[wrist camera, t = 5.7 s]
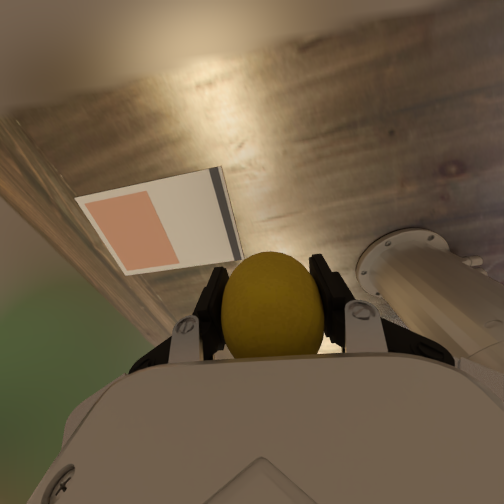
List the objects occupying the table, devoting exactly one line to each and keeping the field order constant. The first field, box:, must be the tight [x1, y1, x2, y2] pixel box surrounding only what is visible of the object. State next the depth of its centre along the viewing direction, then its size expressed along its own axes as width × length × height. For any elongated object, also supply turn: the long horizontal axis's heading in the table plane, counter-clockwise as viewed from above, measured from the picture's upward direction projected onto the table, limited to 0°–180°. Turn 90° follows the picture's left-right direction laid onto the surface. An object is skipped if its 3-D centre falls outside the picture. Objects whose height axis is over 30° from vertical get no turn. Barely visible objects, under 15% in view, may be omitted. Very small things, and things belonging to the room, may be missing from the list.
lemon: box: [221, 252, 324, 359], centre depth 10 cm, size 6×6×8 cm
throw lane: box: [75, 166, 244, 276], centre depth 28 cm, size 22×14×1 cm, turn 101°
